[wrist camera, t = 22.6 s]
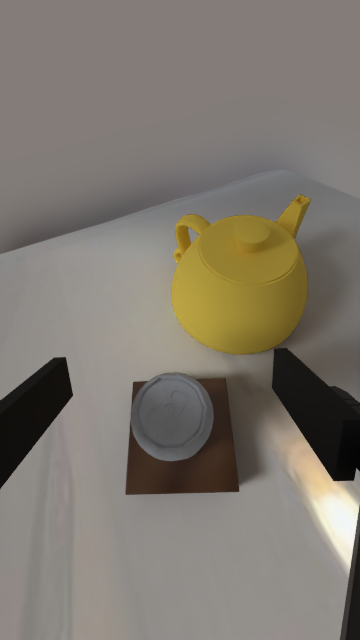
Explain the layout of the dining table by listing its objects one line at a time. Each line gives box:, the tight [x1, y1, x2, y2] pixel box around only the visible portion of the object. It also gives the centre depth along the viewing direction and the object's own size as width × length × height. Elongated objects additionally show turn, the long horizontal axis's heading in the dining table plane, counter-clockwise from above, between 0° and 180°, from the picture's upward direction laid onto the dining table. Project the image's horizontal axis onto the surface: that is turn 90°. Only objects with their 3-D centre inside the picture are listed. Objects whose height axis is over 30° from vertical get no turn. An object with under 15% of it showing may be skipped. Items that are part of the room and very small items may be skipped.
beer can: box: [131, 373, 214, 461], centre depth 18 cm, size 5×5×12 cm
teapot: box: [171, 194, 311, 355], centre depth 29 cm, size 20×19×13 cm
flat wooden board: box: [125, 378, 239, 495], centre depth 24 cm, size 10×10×2 cm
